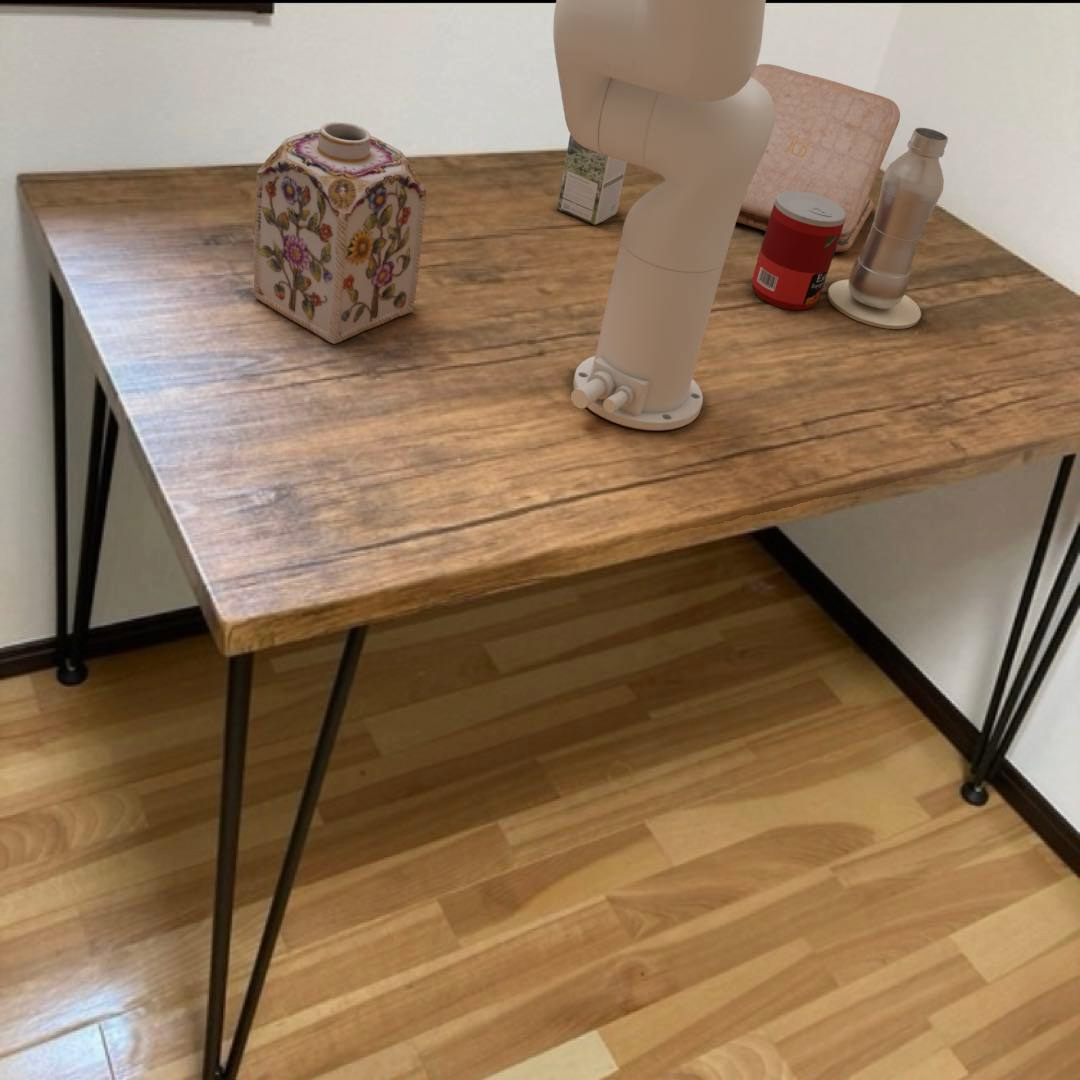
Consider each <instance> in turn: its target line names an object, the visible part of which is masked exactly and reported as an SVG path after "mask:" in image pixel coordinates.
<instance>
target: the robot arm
mask: <svg viewBox="0 0 1080 1080" xmlns="http://www.w3.org/2000/svg"><path fill="white" fill-rule="evenodd" d="M766 1H767V0H556V1H555V6H554V13H553V24H552V25H553V28H552V30H553V34H552V35H553V46H554V48H553V49H554V56H555V62H556V68H557V69H556V70H557V76H558V83H559V89H560V96H561V101H562V108H563V109H562V110H563V115H564V120H565V123H566V127H567V130H568V132H569V135H570V134H571V136H572V137H573V139H574V140H575V141H576V142H577V143H579V144H580V145H582V146H583V147H585V148H587V149H590V150H592V151H595V152H598V153H601V154H603V155H606V156H609V157H612V158H615V159H618V160H622V161H625V162H627V164H628V163H629V164H631V165H635V166H638V167H640V168H644V169H647V170H648V171H650V172H652V173H653V172H654V173H656V174H658V175H660V176H661V177H663V179H664V180H663V181H662V182H660V183H658V184H657V185H655V186H654V187H653V188H651V189H650V190H648V191H647V192H645V193H644V194H643V195H642V196H640V197H639V198H638V199H637V200H636V201H635V203H633V205H632V206H631V207H630V209H629V211H628V213H627V214H626V217H625V219H624V222H623V226H622V231H621V235H620V240H619V244H618V248H617V249H618V250H617V254H616V259H615V263H614V268H613V271H612V275H611V276H612V277H611V281H610V286H609V292H608V296H607V299H606V305H605V309H604V313H603V317H602V323H601V327H600V332H599V336H598V341H597V345H596V350H595V354H594V355H592V356H590V357H588V358H586V359H584V360H582V361H581V363H580V364H579V365H577V367H576V370H575V372H574V375H573V381H572V384H573V390H572V392H571V393H570V400H571V403H572V404H573V406H574V407H576V408H577V409H579V410H583V409H586V408H587V409H589V410H590V411H591V412H592V413H594V414H596V415H597V416H599V417H601V418H603V419H605V420H607V421H610V422H612V423H614V424H618V425H620V426H623V427H627V428H630V429H636V430H641V431H659V432H660V431H670V430H675V429H678V428H682V427H684V426H686V425H689V424H691V423H693V421H694V420H696V419H697V417H698V416H699V414H700V413H701V409H702V407H703V403H704V396H703V393H702V389H701V388H700V386H699V384H698V383H697V382H696V381H695V379H693V378H694V374H695V371H696V368H697V363H698V359H699V356H700V354H701V353H700V352H701V349H702V345H703V341H704V338H705V334H706V332H707V331H706V330H707V328H708V324H709V319H710V318H711V317H710V316H711V312H712V309H713V305H714V302H715V298H716V294H717V291H718V289H719V288H718V287H719V284H720V281H721V280H720V279H721V276H722V275H723V274H722V273H723V269H724V266H725V263H726V258H727V256H728V251H729V248H730V244H731V241H732V238H733V234H734V230H735V227H736V223H737V222H736V221H737V218H738V215H739V212H740V209H741V206H742V203H743V201H744V198H745V196H746V193H747V191H748V188H749V186H750V184H751V181H752V179H753V177H754V174H755V172H756V170H757V168H758V165H759V163H760V161H761V159H762V157H763V154H764V152H765V150H766V148H767V145H768V142H769V140H770V137H771V134H772V130H773V126H774V121H775V107H774V103H773V100H772V97H771V96H770V94H769V92H768V91H767V90H766V88H765V87H764V86H763V85H762V84H760V83H759V82H758V81H757V80H755V79H754V78H752V77H751V76H752V74H753V72H754V70H755V67H756V66H757V65H758V61H759V57H760V53H761V48H762V41H763V31H764V23H765V21H764V20H765V13H766Z"/></svg>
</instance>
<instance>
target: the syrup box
mask: <svg viewBox="0 0 1080 1080" xmlns="http://www.w3.org/2000/svg"><path fill="white" fill-rule="evenodd" d="M627 164H628V162H625V161H622V160H618V159H615V158H612V157H609V156H606V155H603V154H601V153H598V152H595V151H592V150H590V149H587V148H585V147H583V146H582V145H580V144H579V143H577V142H576V141H575V140H574V139H573V137H572V136H571V134H570V133H569V138H568V143H567V149H566V156H565V160H564V167H563V173H562V177H561V178H562V179H561V184H560V190H559V195H558V199H557V200H558V201H557V206H556V208H557V210H559V211H561V212H563V213H566V214H568V215H571V216H573V217H574V218H577V219H578V220H579V219H580V220H582V221H584V222H587V223H589V224H591V225H598V224H600V223H603V222H604V221H606V220H607V219H610V218H612V217H613V216H615V215H617V213H618V210H619V205H620V200H621V193H622V188H623V183H624V178H625V174H626V169H627Z"/></svg>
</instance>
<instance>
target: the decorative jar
mask: <svg viewBox="0 0 1080 1080" xmlns="http://www.w3.org/2000/svg"><path fill="white" fill-rule="evenodd" d="M255 185H256V186H255V188H256V189H255V212H254V214H255V215H254V239H253V296H254V298H255V299H256V300H258V301H260V302H261V303H263V304H264V305H267V306H268V307H270V308H271V309H273V310H275V312H277V313H280V314H281V315H283V316H284V317H286V318H288V319H289V320H291V321H293V322H294V323H296V324H298V325H300V326H302V327H303V328H305V329H307V330H308V331H310V332H312V333H313V334H315V335H317V336H318V337H320V338H322V339H324V340H325V341H326V342H328V343H330V344H333V345H337V344H339V343H341V342H343V341H345V340H348V339H349V338H352V337H354V336H356V335H359V334H361V333H363V332H366V331H367V330H368V331H369V330H371V329H373V328H376V327H379V326H381V325H383V324H385V323H388V322H390V321H392V320H394V319H397V318H399V317H402V316H405V315H408V314H411V313H413V311H414V309H415V302H416V293H417V285H418V278H419V270H420V263H421V262H420V261H421V252H422V244H423V234H424V233H423V232H424V224H425V223H424V222H425V215H426V213H425V212H426V202H427V201H426V200H427V188H426V187H425V186H424V184H423V183H422V181H421V179H420V177H419V176H418V174H417V173H416V172H415V170H414V168H413V167H412V165H411V164H410V163H409V161H408V159H407V158H406V156H405V154H404V153H403V152H402V151H401V150H399V149H398V148H396V147H394V146H392V145H390V144H388V143H386V142H384V141H382V140H381V139H379V138H377V137H374V136H372V135H371V133H370V132H369V131H368V129H366V128H364V127H363V126H359V125H358V124H353V123H349V122H338V121H337V122H336V121H335V122H333V121H332V122H328V123H324V124H323V125H322V126H320V128H318V129H314V130H310V131H306V132H301V133H298V134H296V135H293V136H290V137H287V138H285V139H284V140H283V141H282V143H281V144H280V145H279V146H278V147H277V148H276V150H274V151H273V152H272V153H271V154H270V155H269V157H268V158H267V159H265V162H264V163H263V164H262V166H261V167H259V168H258V169H257V172H256V184H255Z"/></svg>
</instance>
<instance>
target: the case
mask: <svg viewBox="0 0 1080 1080" xmlns="http://www.w3.org/2000/svg"><path fill="white" fill-rule="evenodd" d="M751 77H752V78H754V79H755V80H757V81H758V82H759V83H760V84H762V85H763V86H764V87H765V88H766V90H767V91H768V92H769V94H770V96H771V97H772V100H773V103H774V107H775V121H774V126H773V130H772V134H771V137H770V140H769V142H768V145H767V148H766V150H765V152H764V154H763V157H762V159H761V161H760V163H759V165H758V168H757V170H756V172H755V174H754V177H753V179H752V181H751V184H750V186H749V188H748V191H747V193H746V196H745V198H744V201H743V203H742V206H741V209H740V212H739V215H738V218H737V221H736V223H739V224H741V225H745V226H748V227H751V228H755V229H758V230H761V231H764V232H766V229H767V226H768V222H769V219H770V215H771V212H772V209H773V206H774V202H775V200H776V197H777V196H778V194H780V193H782V192H787V191H801V192H808V193H812V194H816V195H819V196H822V197H825V198H827V199H829V200H831V201H833V202H835V203H837V204H838V205H839V206H841V207H842V208H843V209H844V210H845V212H846V217H845V222H844V225H843V229H842V232H841V235H840V238H839V241H838V244H837V247H836V250H835V253H843V252H847V251H848V250H849V249H851V248H852V246H853V245H854V242H855V240H856V239H857V237H858V235H859V233H860V232H861V230H862V228H863V226H864V224H865V223H866V221H867V219H868V217H869V216H870V214H871V213H872V211H873V209H874V207H875V205H874V202H873V201H872V200H871V198H870V197H869V196H870V193H871V191H872V189H873V186H874V184H875V182H876V179H877V177H878V174H879V171H880V170H881V167H882V164H883V162H884V159H885V157H886V154H887V152H888V149H889V147H890V145H891V142H892V140H893V138H894V135H895V133H896V130H897V128H898V126H899V123H900V119H901V112H900V111H901V110H900V108H899V106H898V104H897V103H896V102H894V100H892V99H890V98H889V97H885V96H882V95H880V94H876V93H872V92H869V91H865V90H862V89H859V88H856V87H853V86H851V85H848V84H844V83H841V82H837V81H834V80H831V79H828V78H824V77H820V76H817V75H811V74H808V73H804V72H800V71H797V70H794V69H790V68H788V67H787V68H786V67H784V66H781V65H776V64H770V63H761V64H757V65H756V67H755V70H754V72H753V74H752V76H751Z"/></svg>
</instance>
